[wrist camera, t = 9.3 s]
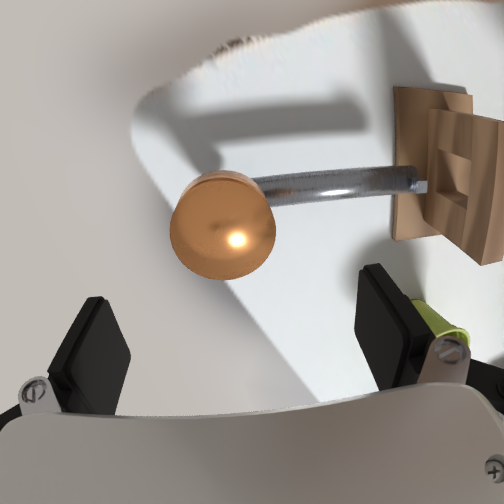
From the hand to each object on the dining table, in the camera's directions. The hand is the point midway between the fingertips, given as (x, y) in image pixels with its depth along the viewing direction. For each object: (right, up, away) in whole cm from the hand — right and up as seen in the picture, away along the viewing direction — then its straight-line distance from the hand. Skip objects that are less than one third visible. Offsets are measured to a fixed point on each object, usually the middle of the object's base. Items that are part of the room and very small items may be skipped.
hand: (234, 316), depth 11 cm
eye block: (+20, +12, +18) cm, 29 cm away
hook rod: (+5, +9, +16) cm, 19 cm away
